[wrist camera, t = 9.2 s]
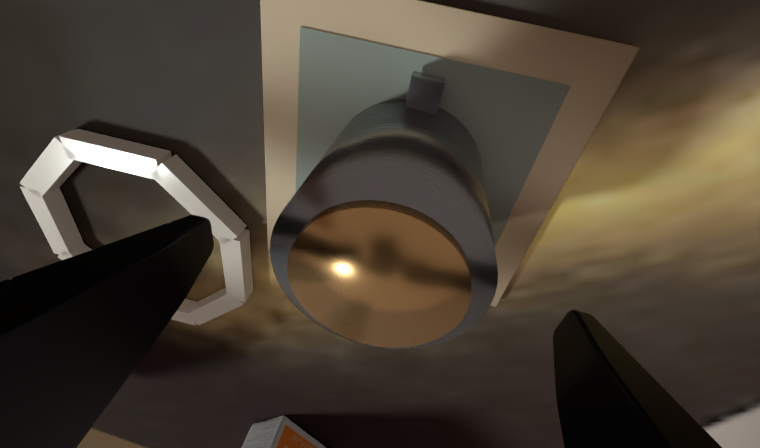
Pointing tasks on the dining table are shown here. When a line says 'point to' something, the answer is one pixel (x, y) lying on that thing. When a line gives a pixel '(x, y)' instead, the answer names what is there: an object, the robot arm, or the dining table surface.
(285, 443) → the skincare box
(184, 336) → the dining table surface
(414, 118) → the round spotlight head
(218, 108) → the dining table surface
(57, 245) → the collar
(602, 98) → the coaster board
